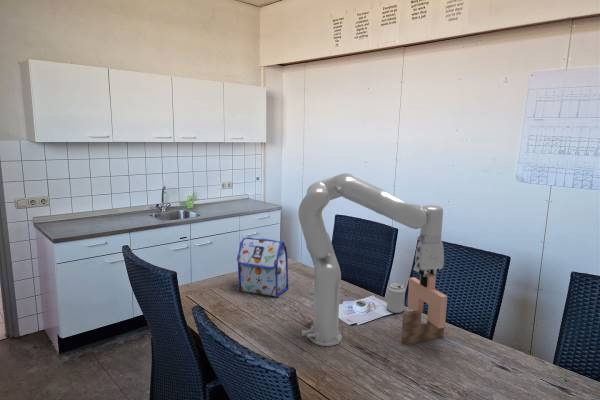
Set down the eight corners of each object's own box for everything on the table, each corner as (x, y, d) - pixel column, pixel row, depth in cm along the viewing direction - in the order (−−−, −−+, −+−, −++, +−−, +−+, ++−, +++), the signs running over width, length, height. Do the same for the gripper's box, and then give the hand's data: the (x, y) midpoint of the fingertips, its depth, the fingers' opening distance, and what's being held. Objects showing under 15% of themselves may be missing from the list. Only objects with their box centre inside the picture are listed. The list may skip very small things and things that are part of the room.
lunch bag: (234, 293, 198) (233, 240, 193) (249, 282, 213) (249, 232, 209) (276, 300, 190) (277, 246, 186) (289, 288, 206) (290, 237, 201)
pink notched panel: (444, 327, 147) (448, 283, 144) (439, 328, 146) (442, 283, 143) (412, 305, 165) (415, 265, 162) (407, 306, 164) (409, 266, 162)
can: (404, 314, 178) (405, 289, 176) (386, 312, 180) (388, 287, 178) (403, 307, 185) (404, 282, 184) (386, 306, 187) (388, 281, 185)
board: (404, 344, 153) (406, 314, 151) (401, 341, 155) (403, 312, 153) (443, 337, 159) (445, 308, 157) (440, 334, 161) (442, 306, 159)
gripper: (418, 242, 144) (414, 291, 147) (455, 239, 149) (451, 286, 153) (406, 237, 151) (403, 284, 154) (441, 234, 156) (438, 279, 160)
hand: (427, 285), depth 153 cm, fingers closed on pink notched panel, 2 cm apart
